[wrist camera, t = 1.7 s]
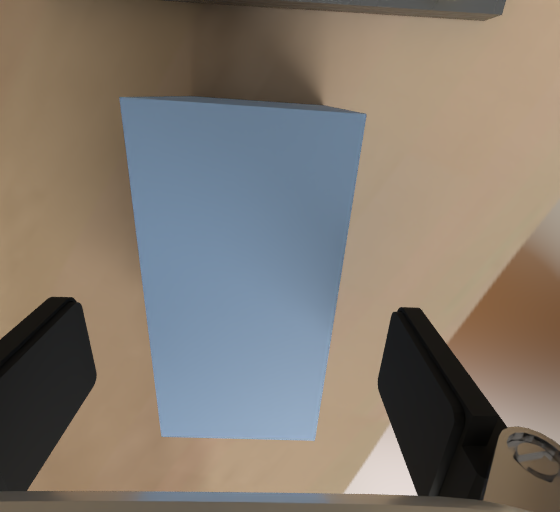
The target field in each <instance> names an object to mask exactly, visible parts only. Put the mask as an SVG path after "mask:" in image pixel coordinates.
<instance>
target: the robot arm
mask: <svg viewBox="0 0 560 512" xmlns="http://www.w3.org/2000/svg"><path fill="white" fill-rule="evenodd" d="M95 381H96V369H95V364H94V359H93V355H92V350H91V346H90V341H89V336H88V332H87V327H86V323H85V318H84V313H83V309H82V305H81V304H80V303H78V302H76V300H75V299H74V298H72V297H50V298H48V299H47V300H46V301H45V302H44V303H42V304H41V305H40V306H39V307H38V308H37V309H35V310H34V311H33V312H32V313H31V314H30V315H28V316H27V317H26V318H25V319H24V320H23V321H21V322H20V323H19V324H18V325H17V326H16V327H14V328H13V329H12V330H11V331H10V332H9V333H7V334H6V335H5V336H4V337H3V338H2V339H0V512H560V445H559V444H557V443H556V442H555V441H553V440H552V439H550V438H548V437H547V436H545V435H543V434H541V433H539V432H536V431H534V430H531V429H529V428H523V427H507V426H506V425H505V423H504V422H503V421H502V419H501V418H500V417H499V415H498V414H497V412H496V411H495V410H494V408H493V407H492V406H491V404H490V403H489V401H488V400H487V399H486V397H485V396H484V395H483V393H482V392H481V391H480V389H479V388H478V386H477V385H476V384H475V382H474V381H473V380H472V378H471V377H470V375H469V374H468V373H467V372H466V370H465V369H464V367H463V366H462V365H461V363H460V362H459V360H458V359H457V358H456V356H455V355H454V354H453V353H452V351H451V350H450V348H449V347H448V346H447V344H446V343H445V341H444V340H443V339H442V337H441V336H440V335H439V333H438V332H437V331H436V329H435V328H434V326H433V325H432V324H431V322H430V321H429V320H428V318H427V317H426V315H425V314H424V313H423V311H422V310H421V309H420V308H408V307H400V308H399V309H398V311H397V312H393V313H392V316H391V320H390V325H389V329H388V334H387V339H386V344H385V348H384V353H383V358H382V362H381V367H380V372H379V377H378V389H379V393H380V395H381V398H382V401H383V404H384V406H385V409H386V412H387V414H388V417H389V420H390V422H391V425H392V428H393V430H394V433H395V435H396V438H397V441H398V444H399V446H400V449H401V452H402V454H403V457H404V460H405V462H406V465H407V468H408V470H409V473H410V476H411V478H412V481H413V484H414V487H415V489H416V492H417V494H418V496H407V495H377V494H319V493H246V492H132V491H27V490H28V488H29V487H30V485H31V483H32V482H33V480H34V479H35V477H36V476H37V474H38V472H39V471H40V469H41V468H42V466H43V465H44V463H45V461H46V460H47V458H48V457H49V455H50V454H51V452H52V450H53V449H54V447H55V446H56V444H57V443H58V441H59V439H60V438H61V436H62V435H63V433H64V432H65V430H66V428H67V427H68V425H69V424H70V422H71V421H72V419H73V418H74V416H75V414H76V413H77V411H78V410H79V408H80V407H81V405H82V403H83V402H84V400H85V399H86V397H87V396H88V394H89V392H90V391H91V389H92V388H93V386H94V384H95Z"/></svg>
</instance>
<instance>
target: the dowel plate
mask: <svg viewBox="0 0 560 512" xmlns="http://www.w3.org/2000/svg"><path fill="white" fill-rule="evenodd" d="M164 1H179V2H195V3H211V4H227V5H243V6H259V7H274V8H290V9H306V10H322V11H338V12H354V13H369V14H385V15H401V16H417V17H433V18H449V19H464V20H480V21H485V20H488V19H491V18H494V17H497V16H500V15H502V13H503V9H504V5H505V2H506V0H164Z"/></svg>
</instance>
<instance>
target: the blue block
mask: <svg viewBox="0 0 560 512" xmlns="http://www.w3.org/2000/svg"><path fill="white" fill-rule="evenodd" d="M119 98H120V106H121V114H122V122H123V130H124V138H125V146H126V154H127V162H128V170H129V178H130V187H131V195H132V203H133V211H134V219H135V227H136V235H137V243H138V251H139V259H140V267H141V275H142V283H143V291H144V299H145V307H146V315H147V323H148V332H149V340H150V348H151V356H152V364H153V372H154V380H155V388H156V396H157V404H158V412H159V420H160V428H161V436H162V437H193V438H233V439H273V440H313V441H315V436H316V430H317V423H318V417H319V411H320V404H321V398H322V392H323V385H324V379H325V373H326V367H327V360H328V354H329V348H330V341H331V335H332V329H333V322H334V316H335V310H336V303H337V297H338V291H339V285H340V278H341V272H342V266H343V259H344V253H345V247H346V240H347V234H348V228H349V222H350V215H351V209H352V203H353V196H354V190H355V184H356V177H357V171H358V165H359V159H360V152H361V146H362V140H363V133H364V127H365V121H366V114H364V113H359V112H354V111H349V110H344V109H339V108H334V107H329V106H324V105H312V104H297V103H283V102H269V101H254V100H240V99H225V98H211V97H196V96H163V97H119Z"/></svg>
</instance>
